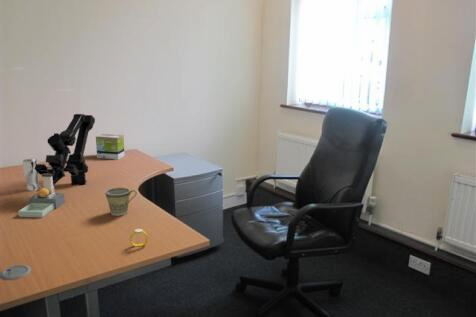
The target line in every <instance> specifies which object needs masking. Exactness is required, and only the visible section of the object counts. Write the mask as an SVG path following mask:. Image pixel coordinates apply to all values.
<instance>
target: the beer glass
mask: <svg viewBox="0 0 476 317" xmlns="http://www.w3.org/2000/svg"><path fill="white" fill-rule="evenodd" d="M36 164H39V160H38V158H28V159H24V160H23V159H22V169H23V174H24V177H25V180H26V191H28V192H34V191H35V192H36V191H38V190H39V191H40V190H41V186H40V183H39V181H40V180H39V177H40V174H39V173H38V172H37V171H36V170H35V169H34V168H35V165H36Z"/></svg>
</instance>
